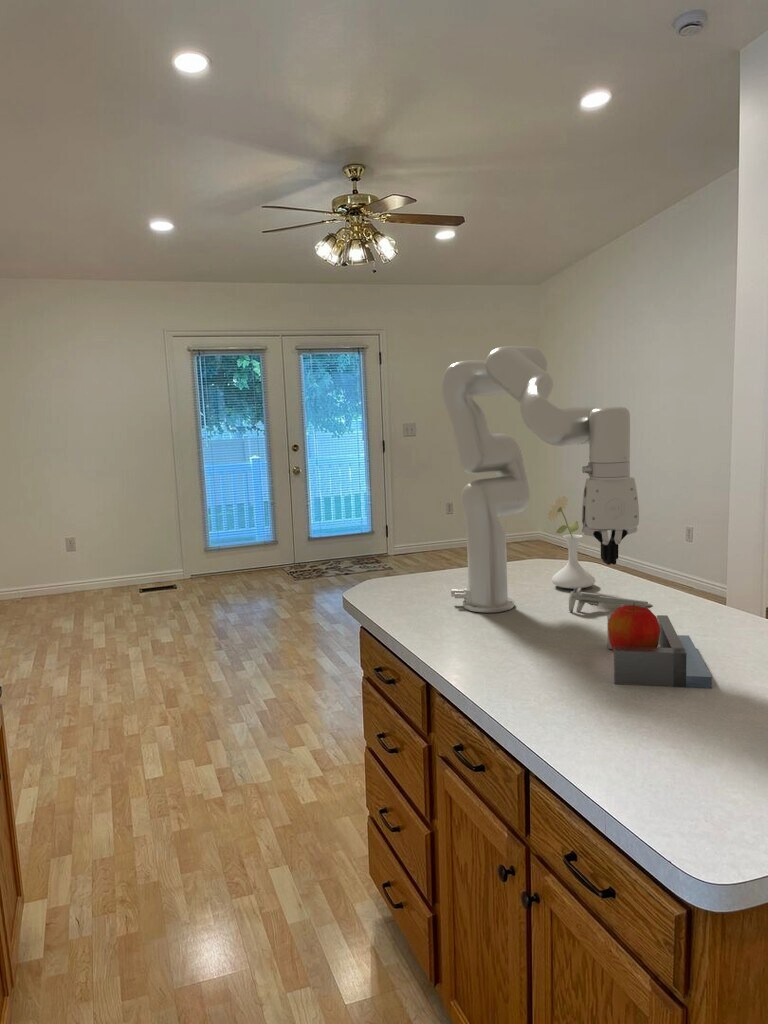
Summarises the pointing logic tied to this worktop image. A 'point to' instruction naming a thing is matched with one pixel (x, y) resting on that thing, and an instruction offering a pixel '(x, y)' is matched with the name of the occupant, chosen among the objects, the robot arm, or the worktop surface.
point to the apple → (633, 627)
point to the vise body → (662, 662)
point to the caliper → (599, 600)
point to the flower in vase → (572, 571)
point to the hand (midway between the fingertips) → (609, 562)
